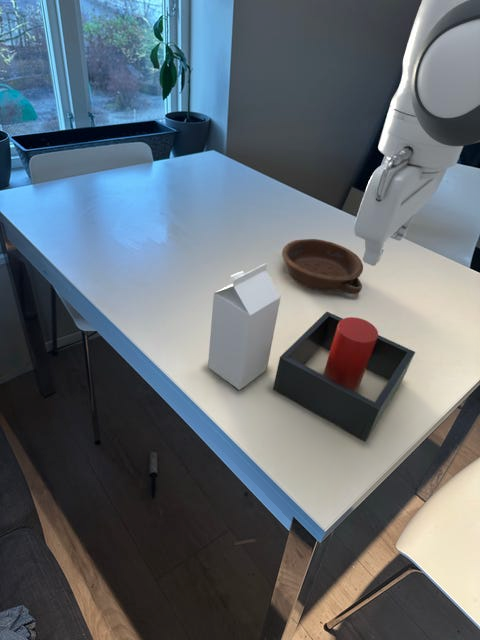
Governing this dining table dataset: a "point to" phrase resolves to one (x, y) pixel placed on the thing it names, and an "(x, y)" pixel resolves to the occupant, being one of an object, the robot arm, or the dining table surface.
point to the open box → (331, 396)
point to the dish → (323, 265)
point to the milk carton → (243, 326)
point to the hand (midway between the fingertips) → (384, 249)
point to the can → (350, 352)
